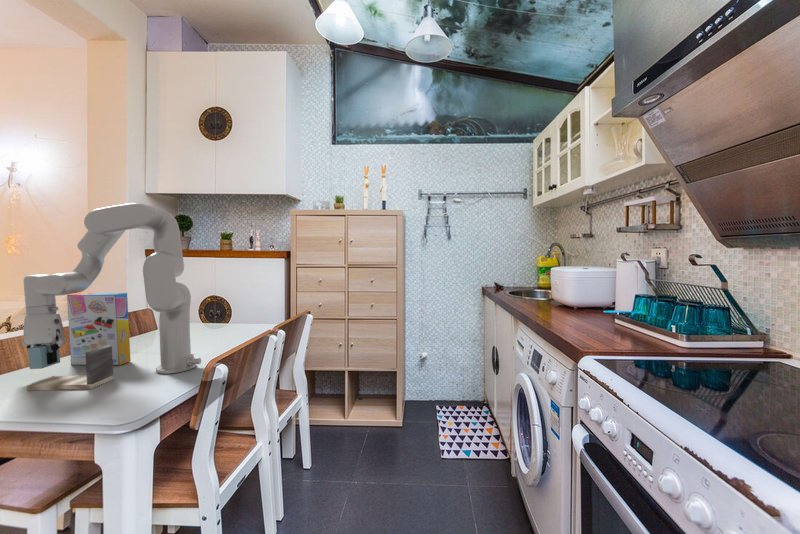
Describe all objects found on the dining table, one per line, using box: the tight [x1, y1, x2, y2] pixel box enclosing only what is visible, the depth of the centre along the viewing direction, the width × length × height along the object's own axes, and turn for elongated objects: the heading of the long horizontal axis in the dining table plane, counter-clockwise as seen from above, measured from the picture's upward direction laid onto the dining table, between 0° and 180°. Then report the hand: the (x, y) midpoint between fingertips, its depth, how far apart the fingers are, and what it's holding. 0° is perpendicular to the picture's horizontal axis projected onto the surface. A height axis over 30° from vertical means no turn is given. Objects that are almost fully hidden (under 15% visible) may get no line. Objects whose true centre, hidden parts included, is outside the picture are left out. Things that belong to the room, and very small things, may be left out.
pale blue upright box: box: [27, 344, 61, 370], centre depth 129 cm, size 4×7×7 cm, turn 1°
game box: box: [66, 292, 132, 366], centre depth 145 cm, size 21×6×27 cm, turn 84°
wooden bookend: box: [26, 346, 114, 391], centre depth 122 cm, size 20×9×12 cm, turn 91°
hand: (45, 362), depth 130 cm, fingers closed on pale blue upright box, 4 cm apart
